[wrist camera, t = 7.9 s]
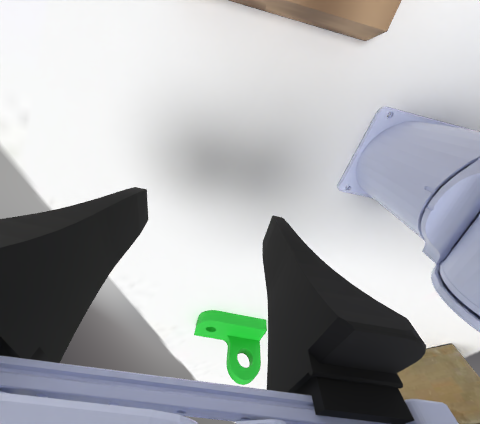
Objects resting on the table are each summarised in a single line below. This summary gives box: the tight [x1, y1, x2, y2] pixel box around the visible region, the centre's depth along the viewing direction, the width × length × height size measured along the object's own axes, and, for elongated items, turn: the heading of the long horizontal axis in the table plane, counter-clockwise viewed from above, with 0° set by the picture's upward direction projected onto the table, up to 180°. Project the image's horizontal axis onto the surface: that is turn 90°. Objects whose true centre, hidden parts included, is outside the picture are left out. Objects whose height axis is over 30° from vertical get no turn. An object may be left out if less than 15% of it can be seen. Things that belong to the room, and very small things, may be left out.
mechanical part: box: [194, 310, 267, 385], centre depth 32 cm, size 12×6×8 cm, turn 75°
